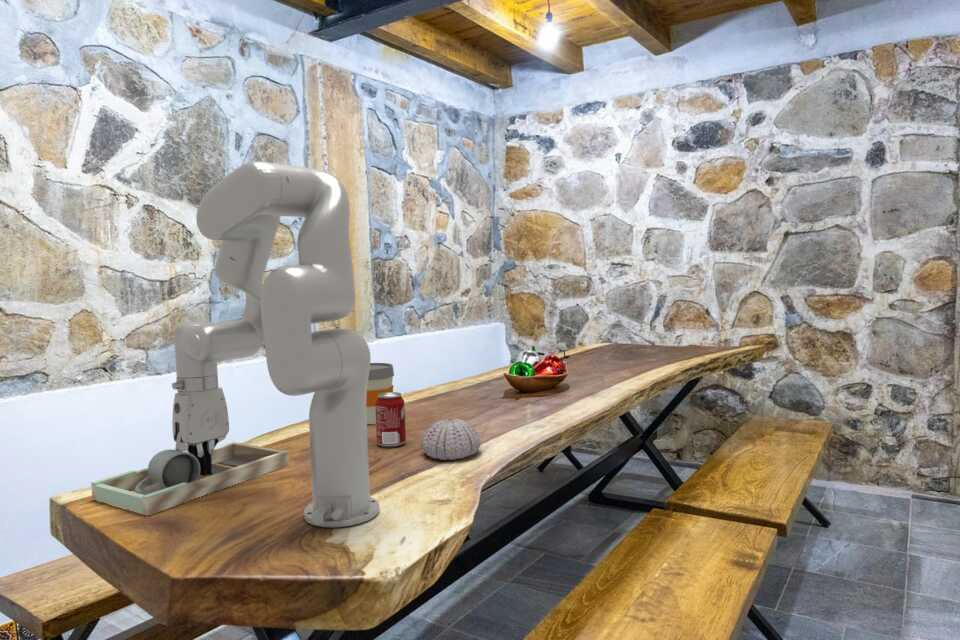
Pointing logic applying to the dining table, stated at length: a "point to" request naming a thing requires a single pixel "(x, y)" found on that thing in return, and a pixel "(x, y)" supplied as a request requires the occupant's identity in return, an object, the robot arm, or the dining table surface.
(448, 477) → the dining table surface
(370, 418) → the reusable coffee cup
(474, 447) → the sea urchin shell
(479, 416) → the dining table surface
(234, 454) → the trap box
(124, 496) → the shallow mint tray
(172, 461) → the ceramic mug
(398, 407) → the soda can
